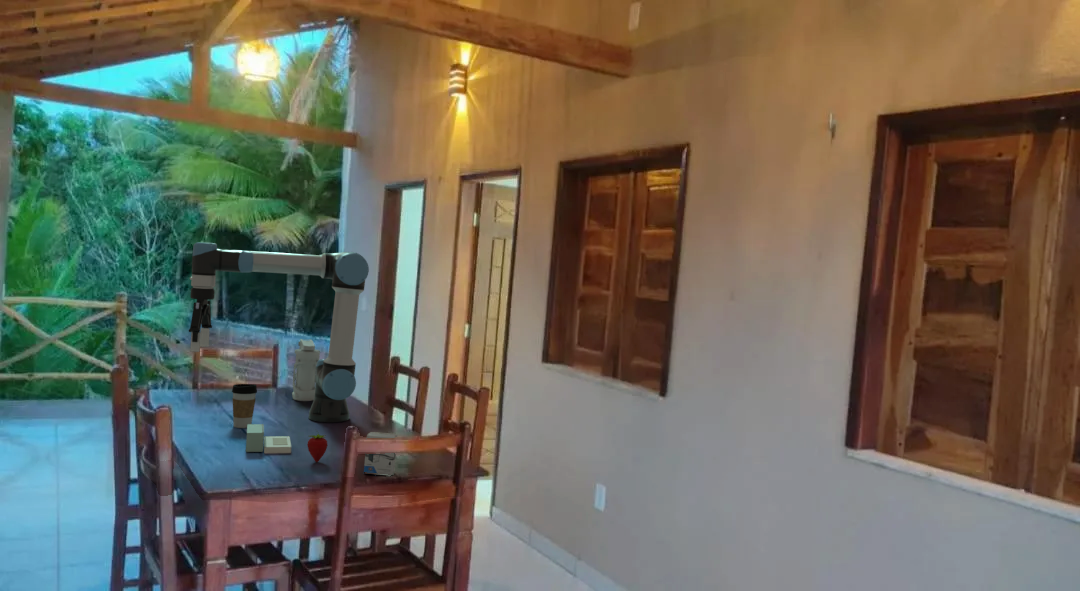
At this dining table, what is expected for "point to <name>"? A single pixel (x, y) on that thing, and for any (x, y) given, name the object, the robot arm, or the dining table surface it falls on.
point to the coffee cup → (243, 404)
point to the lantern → (305, 371)
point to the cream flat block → (277, 444)
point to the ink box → (380, 458)
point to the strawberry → (317, 446)
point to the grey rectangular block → (255, 438)
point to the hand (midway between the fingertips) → (199, 349)
